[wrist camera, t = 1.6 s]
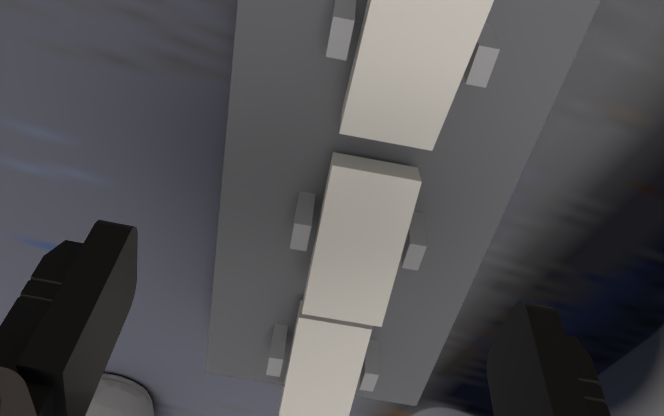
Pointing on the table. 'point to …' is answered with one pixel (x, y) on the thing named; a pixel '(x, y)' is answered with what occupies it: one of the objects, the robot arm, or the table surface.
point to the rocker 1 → (323, 366)
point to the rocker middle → (360, 238)
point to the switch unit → (323, 139)
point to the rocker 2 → (409, 68)
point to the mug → (120, 398)
